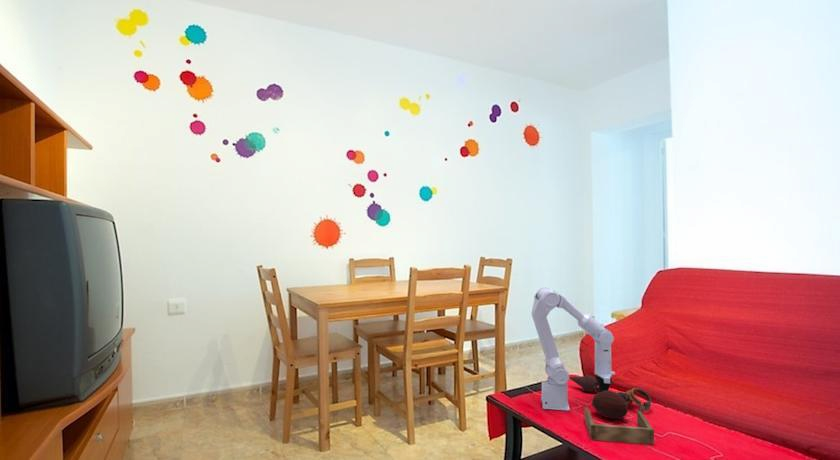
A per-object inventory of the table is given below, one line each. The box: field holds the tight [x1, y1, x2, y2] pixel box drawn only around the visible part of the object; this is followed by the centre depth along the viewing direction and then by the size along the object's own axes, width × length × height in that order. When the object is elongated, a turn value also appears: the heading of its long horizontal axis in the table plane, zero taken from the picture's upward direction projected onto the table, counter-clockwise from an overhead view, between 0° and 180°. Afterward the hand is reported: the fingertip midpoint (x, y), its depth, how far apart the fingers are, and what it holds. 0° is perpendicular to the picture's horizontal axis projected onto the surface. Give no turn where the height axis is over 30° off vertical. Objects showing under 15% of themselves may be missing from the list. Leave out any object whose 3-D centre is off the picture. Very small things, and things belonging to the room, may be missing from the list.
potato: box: [591, 390, 629, 420], centre depth 151 cm, size 9×12×9 cm
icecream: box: [569, 374, 599, 393], centre depth 176 cm, size 7×7×15 cm
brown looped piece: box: [616, 387, 652, 414], centre depth 158 cm, size 12×10×8 cm
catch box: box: [583, 407, 655, 446], centre depth 140 cm, size 18×14×4 cm
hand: (603, 396), depth 162 cm, fingers closed
